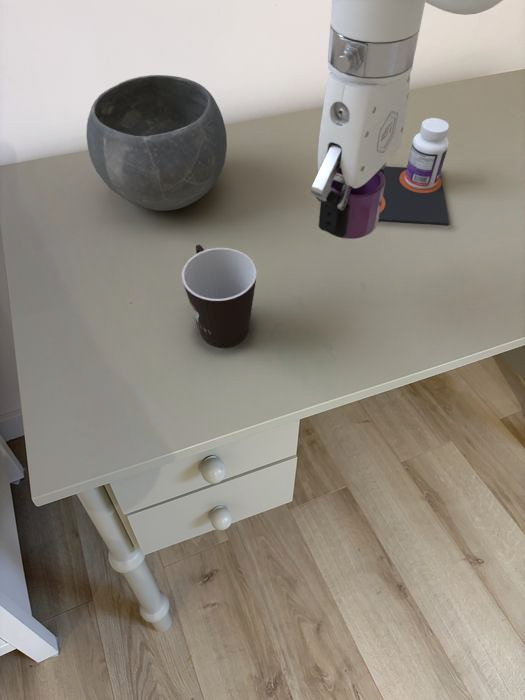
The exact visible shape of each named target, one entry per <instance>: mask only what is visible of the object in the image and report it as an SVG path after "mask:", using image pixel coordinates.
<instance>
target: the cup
mask: <svg viewBox="0 0 525 700" xmlns="http://www.w3.org/2000/svg"><path fill="white" fill-rule="evenodd" d="M337 173H339V174H341V175H343V174H342V170H341V168H338V171H337ZM343 185H344V184H342V183H339V182H337V181H334V180H333V183H332V186H331V189H332V191H333V192H336V193H337V194H338V195H339V196H340V194H341V191H342V188H343ZM384 187H385V177H384V175H383V174H382V172H381V171H380V170H379V171H378V172H377V173H376V174H375V175H374V176H373V177H372V178H371V179H370V180H369V181H367V182H366V183H365V184H364V185H362V186H361V187H359V188H352V189H351V192H350V195H349V198H348V201H347V205H348V206H350V209H349V217H348V224H347V231H346V235H345V236H344V237H343V238H342V239H347V240H353V239H360V238H364V237H366V236H368V235H371V234H372V232H374V231H375V229H376V227H377V225H378V222H379V221H378V219H379V214H380V208H381V203H382V198H383V193H384ZM327 233H328V234H330V235H332V236H335V237H337V238H339V237H338V236H336V235H333V234H331V233H329V232H327Z"/></svg>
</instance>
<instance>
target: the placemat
mask: <svg viewBox="0 0 525 700" xmlns="http://www.w3.org/2000/svg"><path fill="white" fill-rule="evenodd" d="M406 169H407V166H406V167H403V166H386V165H385V167H384V168H383V169H380V170H383V171H384V173H383V175H384V177H385V187H384V193H383V198H382V203H381V208H380V214H379V219H378V222H389V223H390V222H391V223H407V224H422V225H437V226H449V225H450V221H449V214H448V210H447V204H446V199H445V191H444V188H443V181H442V176H441V174H440V176H439V179H438V182H437V184H436V185H435V186H434V187H432V188H429V189H417V188H414V187H412V186H410V185H409V184H408V183H407V182H406V181H405V173H406Z"/></svg>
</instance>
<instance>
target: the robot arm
mask: <svg viewBox="0 0 525 700" xmlns="http://www.w3.org/2000/svg"><path fill="white" fill-rule="evenodd" d="M502 1H504V0H331V11H330V24H329V36H328V48H327V62H326V63H327V68H328V70H329V71H330V72H329V75H328V80H327V84H326V89H325V95H324V100H323V107H322V113H321V120H320V128H319V135H318V147H317V170H318V173H317V175H316V177H315V179H314V181H313V184H312V186H311V189H310V192H311V194H312V195H313V196H314V197H315V198H316V199H317V201H318V202H319V206H320V207H319V216H318V217H319V218H318V228H319V229H320V230H322V231H323V232H326V233H328V232H329V233H328V234H330V233H331V234H330V235H332V234H333V235H332V236H334V235H336V236H335V237H337V236H338V237H337V238H341V239H344V238H343V237H344V236H345V235H346V231H347V224H348V217H349V209H350V206H348V205H347V201H348V198H349V195H350V192H351V189H352V188H359V187H361V186H362V185H364V184H365V183H366V182H367V181H369V180H370V179H371V178H372V177H373V176H374V175H375V174H376V173H377V172H378V171H379V170H380V169H383V168H384V167H385V166H386V165H387V162H388V161H389V160H390V159H391V158H392V157H393V156H394V155H395V154H396V152H397V151H398V150H399V148H400V146H401V143H402V139H403V133H404V132H403V131H404V127H405V120H406V114H407V107H408V100H409V94H410V93H409V92H410V85H411V74H412V73H411V72H412V70H413V65H414V61H415V55H416V51H417V44H418V41H419V35H420V29H421V26H422V25H421V24H422V21H423V16H424V15H423V14H424V10H425V4H428V5H430V6H431V7H434V8H437V9H439V10H441V11H444V12H447V13H451V14H454V15H461V16H462V15H464V16H468V15H476V14H481V13H483V12H486V11H489V10H490V9H492V8H494V7H495V6H498V4H499V3H502ZM338 168H341V170H342V174H343V175H341V174H339V173H337V171H338ZM380 171H381V172H382V174H383V173H384V171H383V170H380ZM333 180H334V181H337V182H339V183H342V184H344V185H343V188H342V191H341V194H340V196H339V195H338V194H337V193H336V192H333V191H332V189H331V186H332V183H333Z"/></svg>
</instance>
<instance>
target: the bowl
mask: <svg viewBox="0 0 525 700" xmlns="http://www.w3.org/2000/svg"><path fill="white" fill-rule="evenodd" d="M227 137H228V136H227V130H226V124H225V120H224V117H223V115H222V112H221V110H220V107H219V105H218V104H217V101H216V100H215V97H214V96H213V95H212V93H211V92H210V91H209V90H207V88H205V86H204V85H201V84H200V83H199V82H196V81H194V80H191V79H188V78H186V77H181V76H176V75H175V76H174V75H167V74H166V75H165V74H164V75H163V74H150V75H142V76H141V75H140V76H137V77H132V78H129V79H126V80H123V81H121V82H119V83H118V84H115V85H113V86H112V87H110V88H108V89H107V90H105V91H103V92H102V93H101V94H100V95H98V97H97V98H95V100H94V102H93V103H92V106H91V108H90V111H89V114H88V116H87V122H86V143H87V149H88V155H89V157H90V160H91V163H92V165H93V167H94V169H95V172H96V174H98V175H99V177H100V179H101V180H102V181H103V182H104V183H105V185H106V186H107V187H108V188H109V189H110V190H111V191H112V192H114V193H115V194H117V195H118V196H120V197H121V198H122V199H124V200H125V201H127V202H129V203H131V204H133V205H135V206H138V207H140V208H143V209H148V210H153V211H174V210H178V209H182V208H185V207H187V206H190V205H192V204H193V203H195V202H197V201H198V200H200V199H201V198H202V197H204V195H206V194H207V193H208V192H209V191H210V190H211V189H212V188H213V187H214V185H215V184H216V183H217V181H218V179H219V177H220V176H221V173H222V172H223V169H224V166H225V162H226V155H227V150H228V148H227V147H228V141H227Z"/></svg>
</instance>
